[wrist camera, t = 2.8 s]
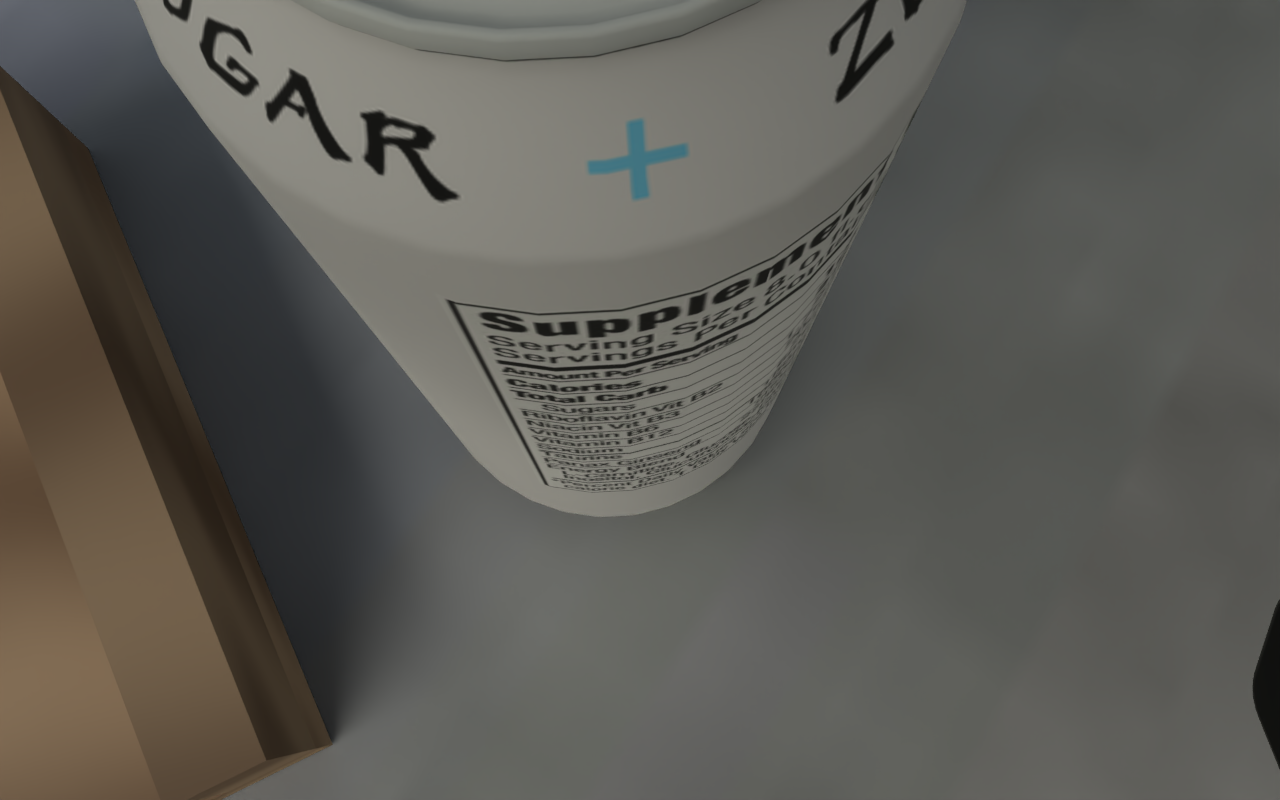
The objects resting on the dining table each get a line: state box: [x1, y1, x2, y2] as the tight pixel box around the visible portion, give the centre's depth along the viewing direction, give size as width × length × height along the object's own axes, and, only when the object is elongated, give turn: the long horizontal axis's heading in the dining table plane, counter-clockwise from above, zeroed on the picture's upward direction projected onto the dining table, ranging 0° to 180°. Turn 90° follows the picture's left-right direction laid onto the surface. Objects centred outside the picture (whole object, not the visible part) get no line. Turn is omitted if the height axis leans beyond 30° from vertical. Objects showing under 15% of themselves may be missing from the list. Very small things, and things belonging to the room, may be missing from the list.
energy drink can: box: [135, 0, 967, 517], centre depth 14 cm, size 6×6×15 cm
